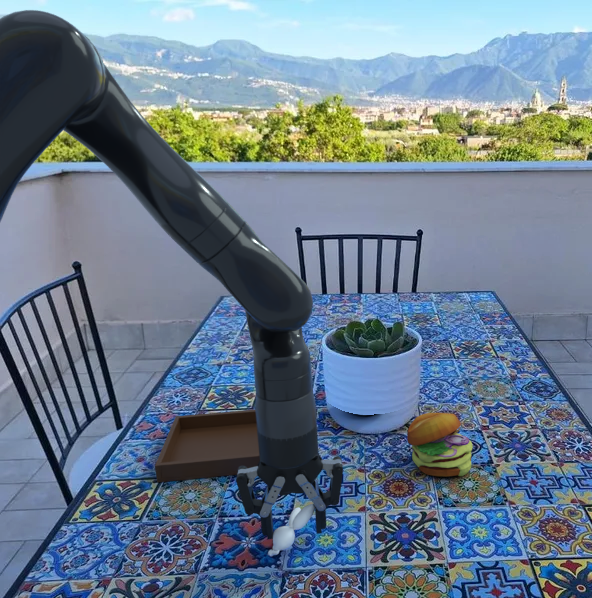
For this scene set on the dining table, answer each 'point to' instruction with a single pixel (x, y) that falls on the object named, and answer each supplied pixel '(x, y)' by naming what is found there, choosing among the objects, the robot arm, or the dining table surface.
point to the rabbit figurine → (291, 529)
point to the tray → (208, 446)
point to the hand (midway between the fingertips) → (295, 532)
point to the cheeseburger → (439, 445)
